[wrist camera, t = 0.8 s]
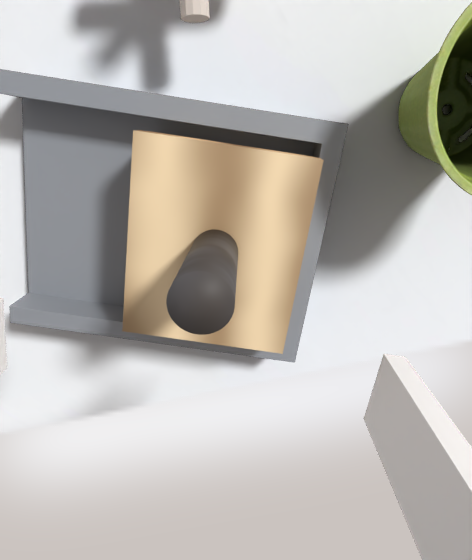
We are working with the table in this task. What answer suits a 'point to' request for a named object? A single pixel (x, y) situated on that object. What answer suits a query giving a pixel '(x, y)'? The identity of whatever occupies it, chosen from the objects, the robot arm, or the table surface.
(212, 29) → the table surface
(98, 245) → the bay
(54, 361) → the table surface
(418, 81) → the plant pot
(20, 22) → the table surface
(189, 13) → the pipe connector
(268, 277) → the wooden block with peg
